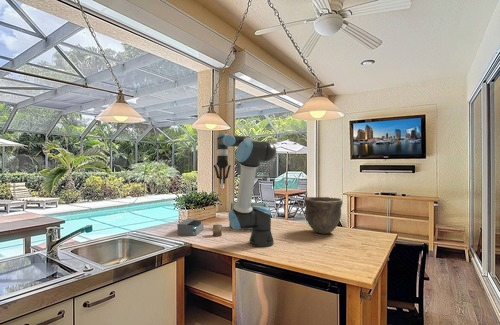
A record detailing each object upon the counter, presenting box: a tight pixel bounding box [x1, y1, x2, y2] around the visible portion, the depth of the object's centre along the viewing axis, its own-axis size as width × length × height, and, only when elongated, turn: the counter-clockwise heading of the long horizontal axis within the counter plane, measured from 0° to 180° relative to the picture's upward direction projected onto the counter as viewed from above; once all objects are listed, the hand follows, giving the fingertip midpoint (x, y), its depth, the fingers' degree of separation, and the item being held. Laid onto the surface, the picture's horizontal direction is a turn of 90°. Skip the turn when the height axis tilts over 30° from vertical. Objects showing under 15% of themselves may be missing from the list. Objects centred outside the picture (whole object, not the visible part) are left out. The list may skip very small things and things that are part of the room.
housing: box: [176, 218, 205, 237], centre depth 198 cm, size 19×13×8 cm
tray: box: [193, 222, 205, 236], centre depth 198 cm, size 17×12×5 cm
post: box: [212, 223, 223, 238], centre depth 190 cm, size 6×6×7 cm
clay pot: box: [304, 196, 343, 235], centre depth 197 cm, size 26×26×25 cm
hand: (222, 188), depth 196 cm, fingers closed
